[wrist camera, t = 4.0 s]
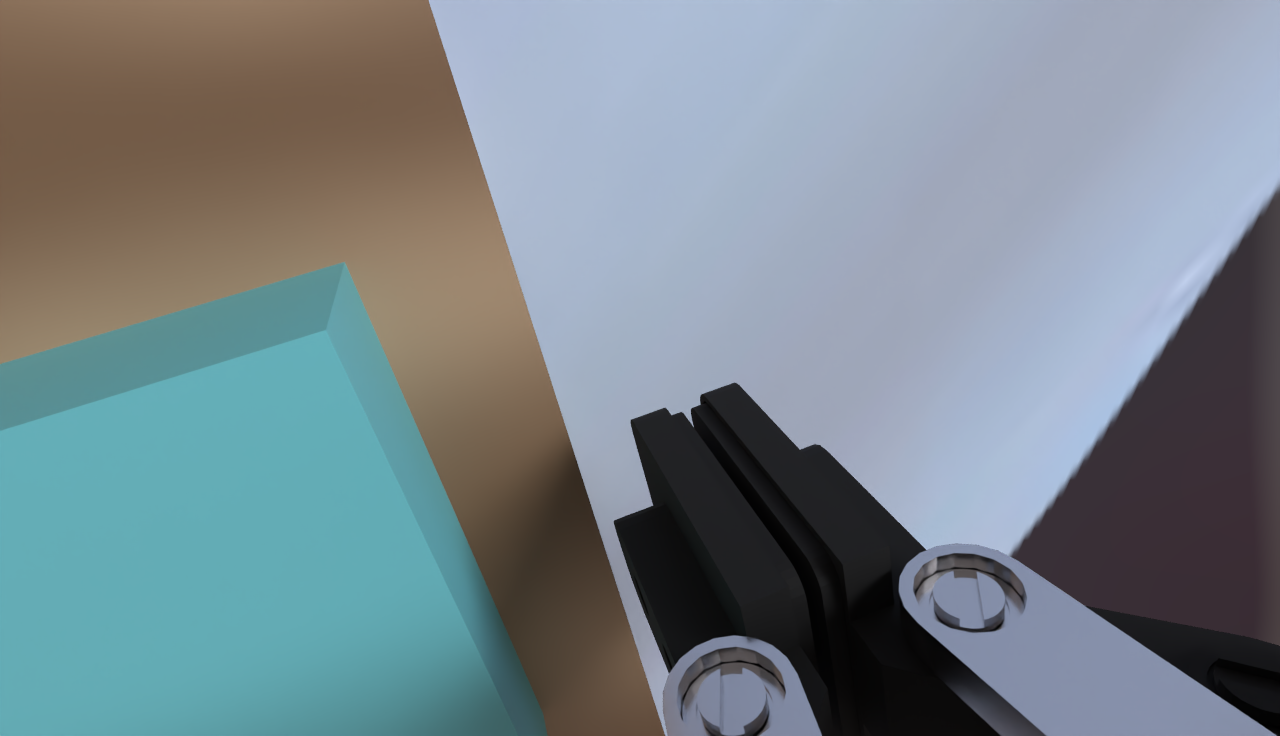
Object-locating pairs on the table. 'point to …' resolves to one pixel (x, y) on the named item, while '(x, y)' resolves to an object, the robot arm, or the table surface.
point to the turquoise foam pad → (238, 537)
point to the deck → (314, 260)
